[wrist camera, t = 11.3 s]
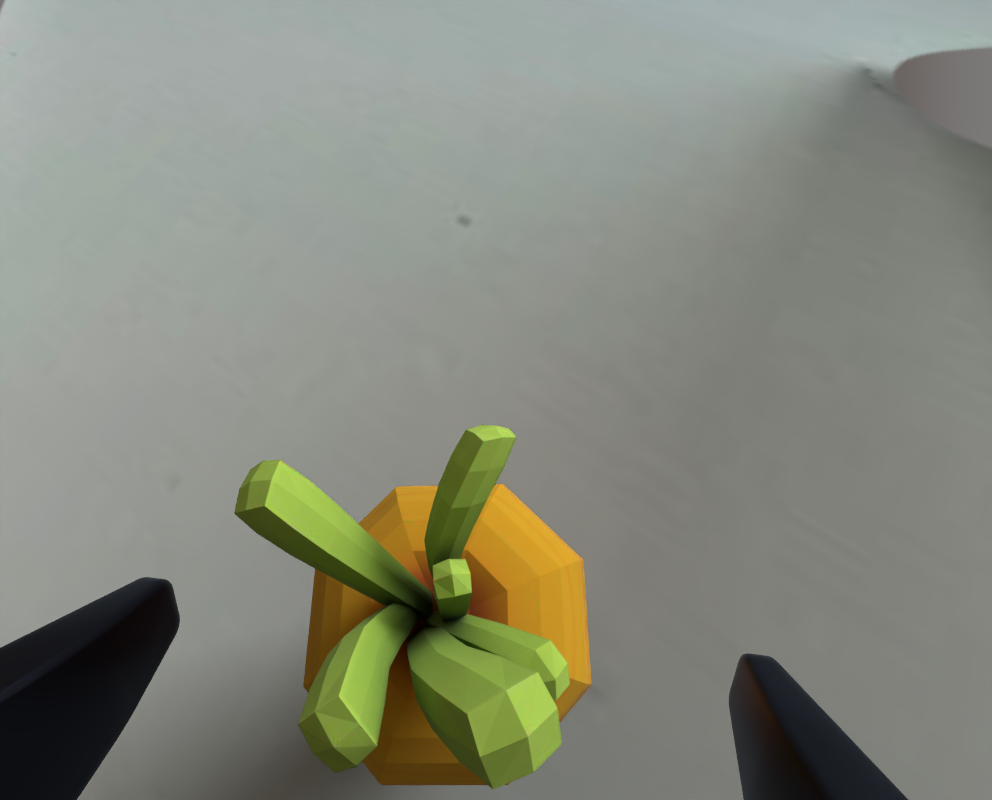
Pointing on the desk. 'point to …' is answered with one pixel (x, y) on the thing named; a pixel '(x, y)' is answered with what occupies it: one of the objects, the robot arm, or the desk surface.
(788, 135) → the desk surface
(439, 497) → the carrot
